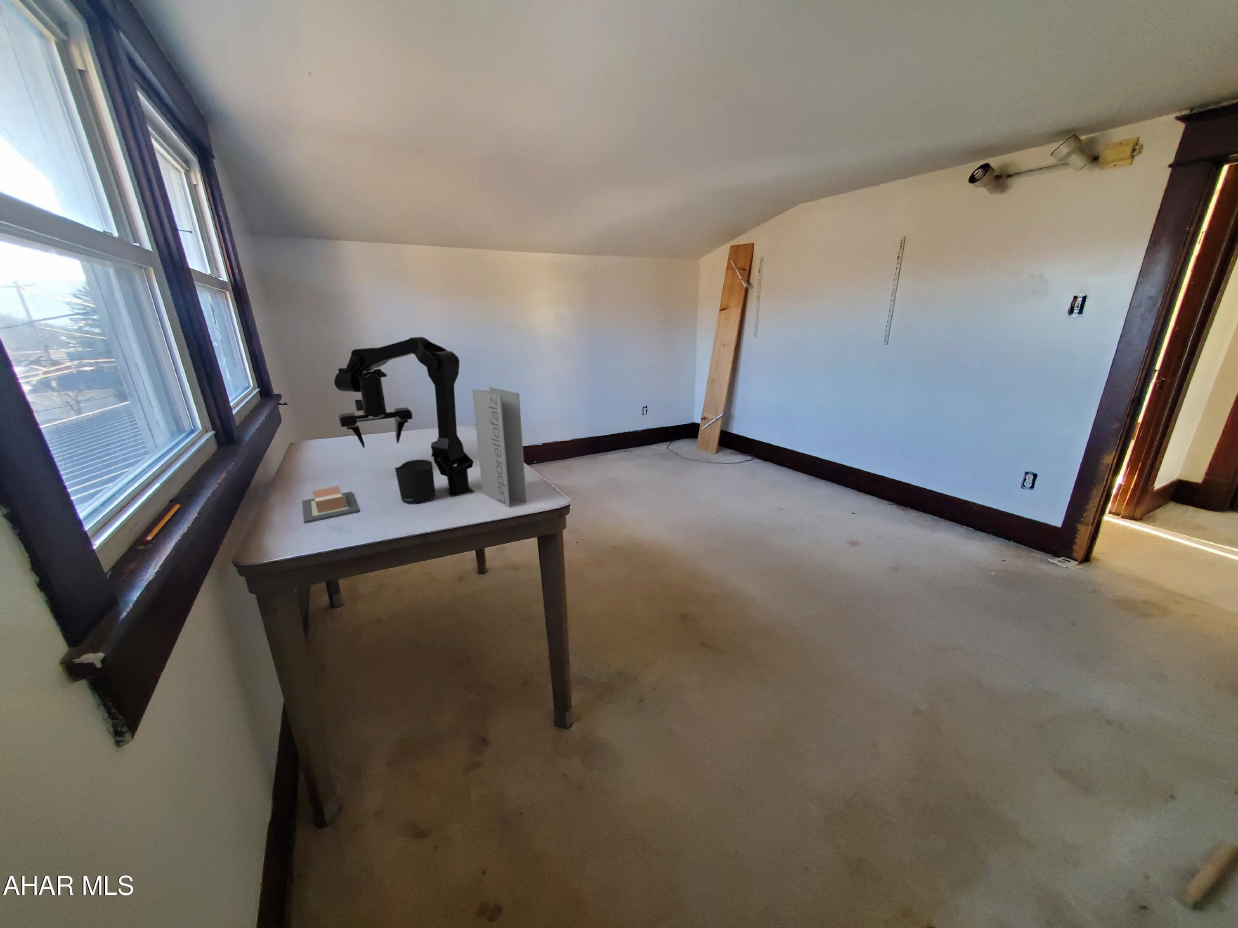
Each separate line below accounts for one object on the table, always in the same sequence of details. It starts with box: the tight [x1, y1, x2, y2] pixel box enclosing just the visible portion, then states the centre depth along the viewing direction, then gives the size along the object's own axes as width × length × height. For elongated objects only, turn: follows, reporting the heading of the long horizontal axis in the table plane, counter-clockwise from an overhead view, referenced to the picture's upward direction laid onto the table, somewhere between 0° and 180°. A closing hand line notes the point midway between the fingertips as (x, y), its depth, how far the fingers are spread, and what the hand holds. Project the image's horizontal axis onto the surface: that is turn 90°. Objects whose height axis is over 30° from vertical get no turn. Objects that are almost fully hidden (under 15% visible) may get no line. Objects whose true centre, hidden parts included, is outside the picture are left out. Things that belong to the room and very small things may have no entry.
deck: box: [312, 485, 345, 513], centre depth 122 cm, size 10×6×3 cm, turn 36°
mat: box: [301, 491, 360, 524], centre depth 123 cm, size 16×12×1 cm
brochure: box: [472, 386, 527, 508], centre depth 125 cm, size 14×6×30 cm, turn 45°
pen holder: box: [394, 459, 436, 505], centre depth 127 cm, size 9×9×10 cm
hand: (381, 445), depth 137 cm, fingers open, 9 cm apart
